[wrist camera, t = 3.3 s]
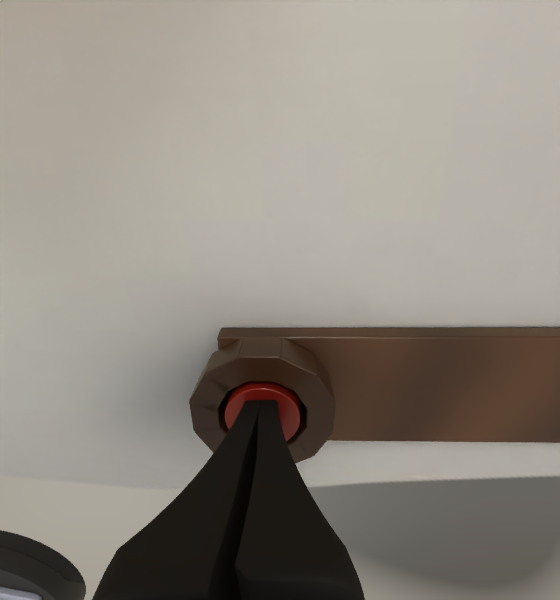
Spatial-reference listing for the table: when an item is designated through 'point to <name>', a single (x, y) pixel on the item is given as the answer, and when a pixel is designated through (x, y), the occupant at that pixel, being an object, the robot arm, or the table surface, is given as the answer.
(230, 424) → the power button
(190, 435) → the table surface
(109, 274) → the table surface
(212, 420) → the brown board with ring
